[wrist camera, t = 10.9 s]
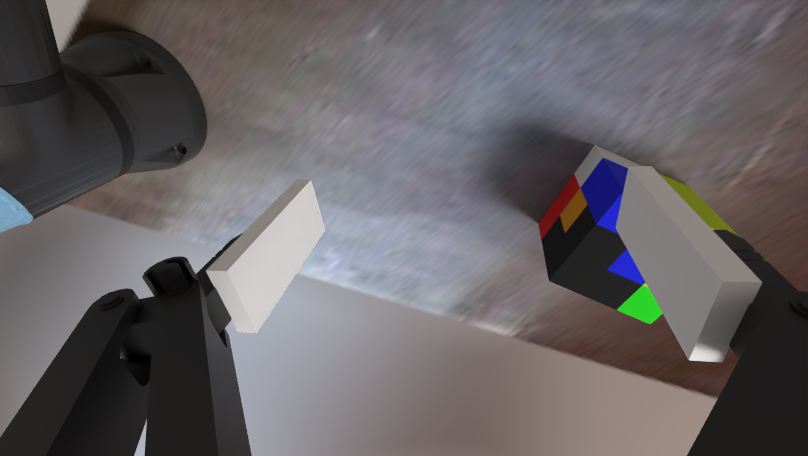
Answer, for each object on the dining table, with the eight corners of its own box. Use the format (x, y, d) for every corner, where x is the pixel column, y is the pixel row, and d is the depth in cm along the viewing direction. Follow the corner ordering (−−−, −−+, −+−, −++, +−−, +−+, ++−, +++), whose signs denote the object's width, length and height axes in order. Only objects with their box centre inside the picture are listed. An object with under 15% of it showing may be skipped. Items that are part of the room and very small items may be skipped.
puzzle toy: (594, 144, 35) (624, 190, 27) (688, 185, 35) (746, 243, 27) (538, 223, 41) (548, 280, 33) (619, 258, 41) (650, 324, 33)
